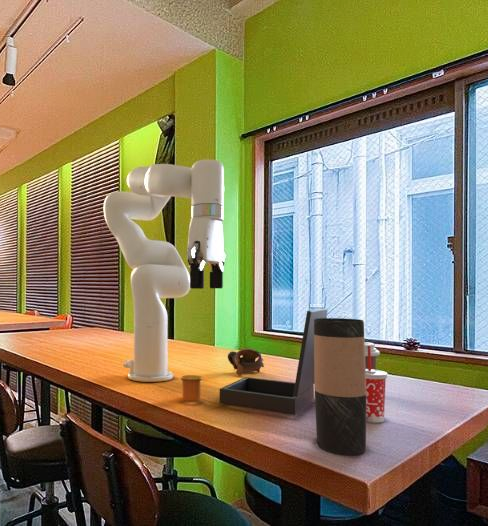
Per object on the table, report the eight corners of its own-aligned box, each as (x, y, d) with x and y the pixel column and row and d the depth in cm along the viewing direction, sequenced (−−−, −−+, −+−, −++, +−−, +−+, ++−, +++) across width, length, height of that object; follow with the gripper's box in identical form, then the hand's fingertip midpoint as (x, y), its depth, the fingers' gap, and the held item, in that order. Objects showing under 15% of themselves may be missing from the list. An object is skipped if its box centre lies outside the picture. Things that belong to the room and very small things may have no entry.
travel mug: (377, 449, 68) (374, 320, 70) (349, 460, 64) (346, 322, 65) (333, 435, 75) (331, 317, 76) (305, 444, 70) (303, 319, 71)
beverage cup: (346, 417, 86) (345, 344, 86) (366, 412, 88) (365, 342, 89) (375, 425, 80) (373, 348, 81) (395, 420, 83) (393, 346, 84)
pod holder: (219, 407, 92) (219, 388, 92) (245, 393, 105) (245, 376, 105) (295, 419, 84) (295, 399, 84) (314, 402, 96) (313, 384, 96)
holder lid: (306, 310, 84) (311, 311, 83) (324, 308, 96) (328, 308, 96) (292, 395, 84) (297, 397, 84) (311, 382, 97) (315, 383, 96)
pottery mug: (269, 374, 130) (270, 352, 126) (253, 393, 124) (253, 371, 120) (235, 360, 137) (234, 338, 133) (218, 377, 131) (216, 355, 127)
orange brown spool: (177, 403, 95) (177, 377, 96) (187, 399, 99) (187, 374, 99) (195, 406, 93) (195, 380, 93) (205, 401, 97) (205, 376, 97)
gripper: (209, 220, 111) (209, 288, 110) (174, 210, 96) (173, 288, 96) (237, 218, 107) (237, 288, 106) (204, 207, 92) (204, 288, 92)
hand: (206, 288), depth 101 cm, fingers open, 9 cm apart
